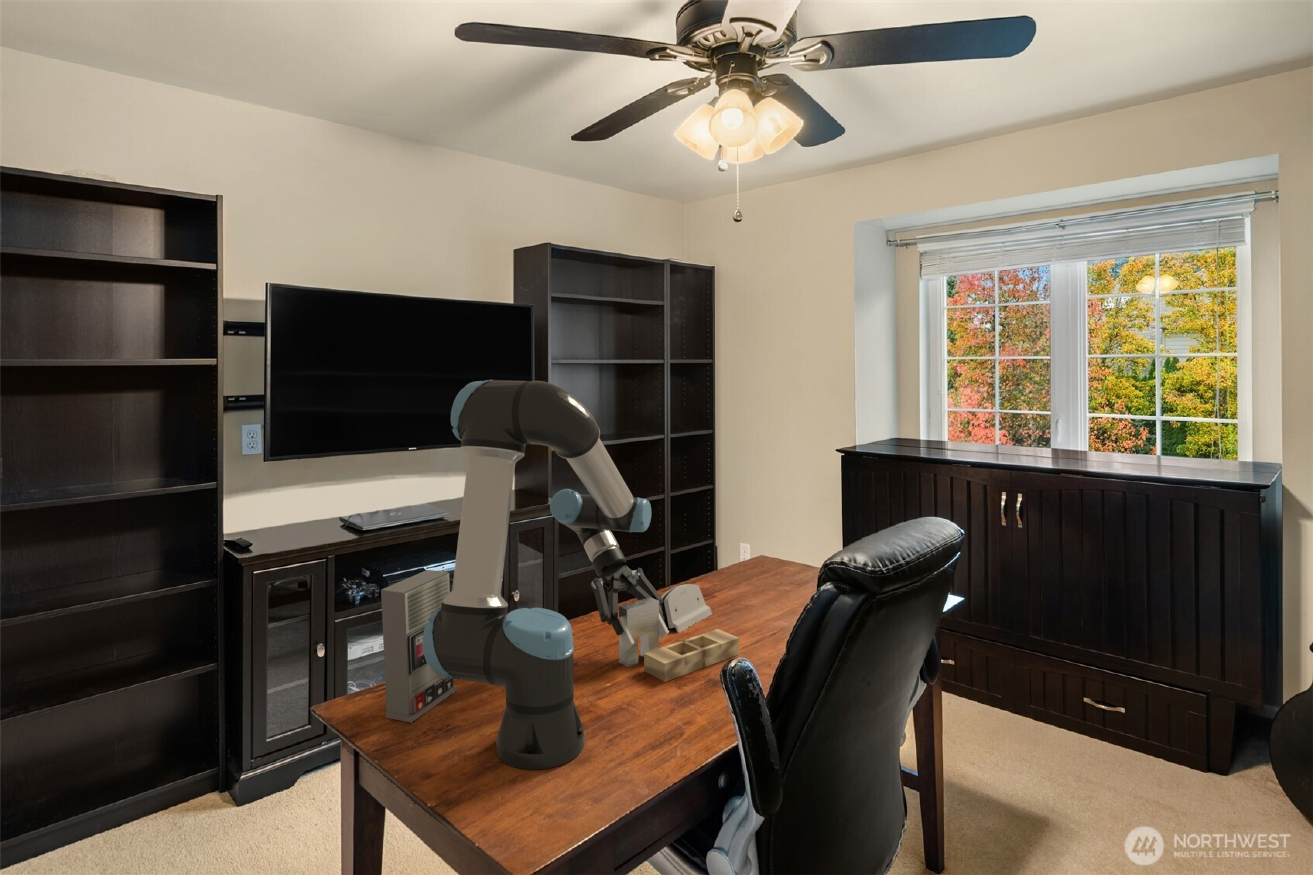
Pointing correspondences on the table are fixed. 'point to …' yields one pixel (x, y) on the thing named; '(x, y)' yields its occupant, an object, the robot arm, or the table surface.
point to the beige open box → (690, 654)
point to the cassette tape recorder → (412, 645)
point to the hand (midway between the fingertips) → (648, 640)
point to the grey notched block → (639, 628)
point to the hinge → (683, 607)
